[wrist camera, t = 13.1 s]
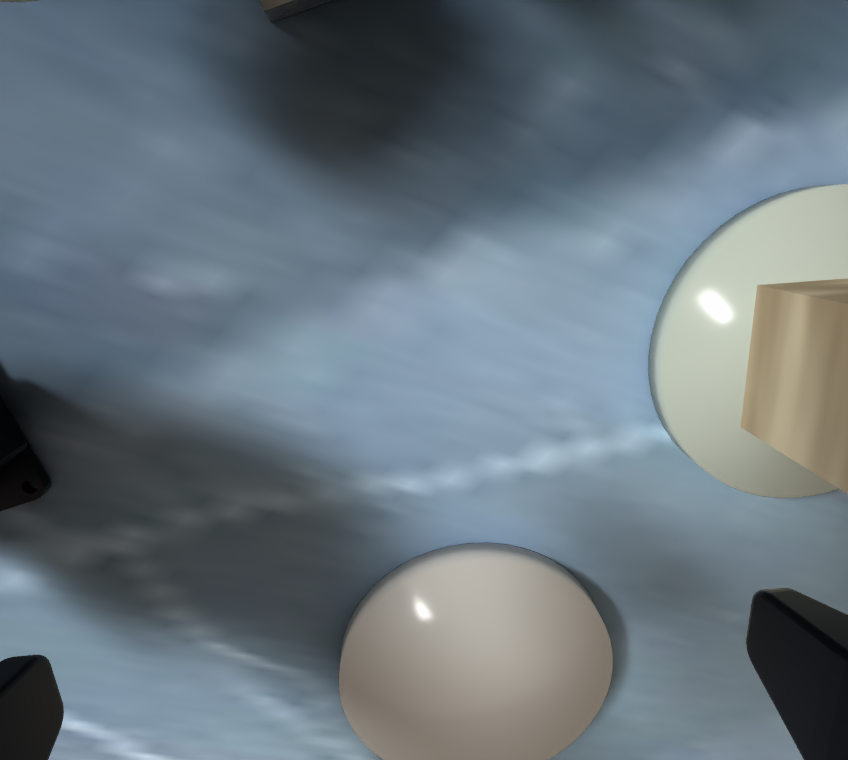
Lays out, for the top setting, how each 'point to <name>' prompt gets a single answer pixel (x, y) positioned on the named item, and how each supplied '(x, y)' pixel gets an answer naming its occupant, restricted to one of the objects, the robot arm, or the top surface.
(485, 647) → the beige flat disc
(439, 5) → the top surface
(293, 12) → the balance
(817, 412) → the tan wooden block
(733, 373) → the beige round flat piece
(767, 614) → the robot arm
